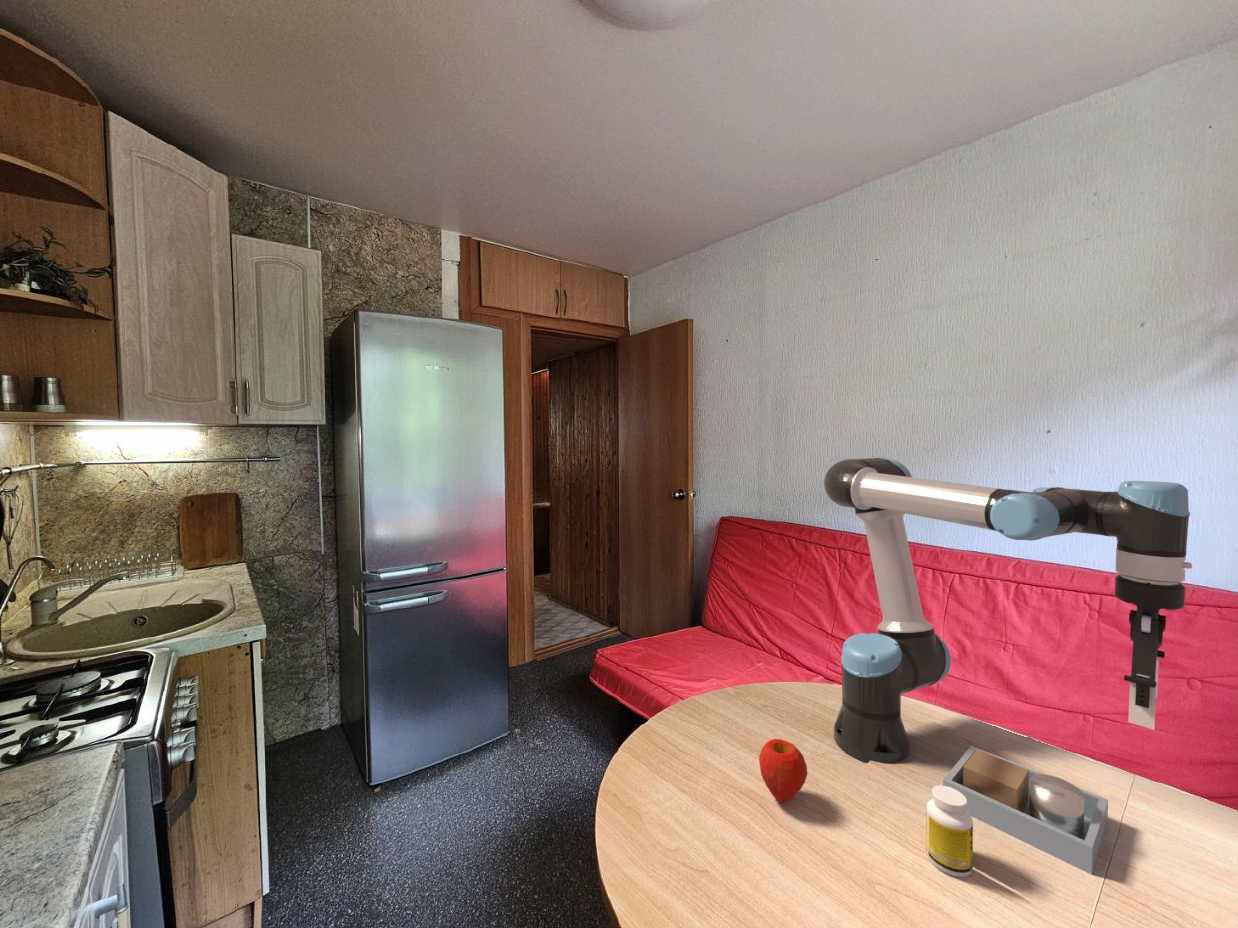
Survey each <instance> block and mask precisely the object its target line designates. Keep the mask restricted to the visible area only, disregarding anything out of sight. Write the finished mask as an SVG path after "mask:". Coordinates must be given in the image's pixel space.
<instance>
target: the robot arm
mask: <svg viewBox="0 0 1238 928" xmlns="http://www.w3.org/2000/svg"><path fill="white" fill-rule="evenodd" d="M823 487H824V490H825V493H826V495H827V496H828V498H829V499H830V500H831V501H832V502H833V503H835V504H836V505H838V506H840V507H845V508H853V509H854V512H855V516H856V517H858V518H859V519H860V520H862V521H863V523H864V528H865V533H866V538H867V543H868V544H867V546H868V549H869V554H870V560H871V565H872V569H873V575H874V580H875V585H876V591H877V595H878V600H879V605H880V611H881V615H882V617H881V618H882V621H881V622H880V623H879V624H878V625H877V632H878V633H875V632H874V633H873V632H869V633H865V632H864V633H863V632H862V633H858V634H854V635H851V636H849V637H848V638H847V639H845V640H844V642H843V645H842V653H841V658H840V659H841V661H840V663H841V691H842V692H841V697H842V698H841V699H842V701H841V707H840V708H839V711H838V714H837V717H836V720H835V722H834V724H833V739H834V741H835V743H836V745H837V747H838V748H840V749H841V750H842V751H843V752H845V753H846V754H847V755H849V756H851V757H852V758H856V759H857V760H860V761H862V762H865V763H869V762H875V763H883V764H893V763H900V762H903V761H904V760H907V759H908V757H909V755H910V754H911V744H910V740H909V737H908V734H907V731H906V728H905V725H904V722H903V719H902V715H901V713H902V712H901V709H902V704H901V703H902V695H904V694H907V693H909V692H913V691H915V690H919V689H922V688H926V687H930V686H933V685H935V684H937V683H938V682H940V681H942V680H943V679H944V678H945V677H947V675H948V674H949V672H950V670H951V665H952V659H951V658H952V656H951V651H950V650H949V647H948V646H947V643H946V642H945V641H943V640H942V638H941V636H940V635H938V634H937V633H936V632H935V629H934V625H933V624H931V623H930V622H929V621H927V620H926V619H925V618H924V614H923V613H924V612H923V609H922V603H921V598H920V593H919V590H918V589H919V588H918V584H917V579H916V575H915V570H914V565H913V564H914V563H913V559H912V554H911V550H910V545H909V541H908V536H907V531H906V530H907V529H906V526H905V522H904V515H905V514H907V515H911V516H912V515H913V516H918V517H923V518H927V519H932V520H937V521H938V520H939V521H943V522H948V523H953V524H959V525H963V526H970V527H974V528H979V529H985V530H989V531H995V532H998V533H999V534H1001V535H1002V536H1004V537H1006V538H1007V539H1009V540H1010V539H1011V540H1014V541H1038V540H1041V539H1044V538H1049V537H1054V536H1059V535H1060V536H1061V535H1066V534H1071V533H1080V534H1087V535H1088V534H1089V535H1095V536H1096V535H1098V536H1104V537H1113V538H1116V548H1115V572H1116V573H1118V575H1117V576H1115V581H1114V582H1115V583H1114V584H1115V587H1114V595H1115V597H1116V599H1118V600H1120V601H1122V602H1125V603H1127V604H1133V605H1134V606H1135V607H1136V610H1135V609H1130V611H1129V614H1128V615H1129V616H1128V624H1129V625H1130V632H1129V638H1130V641H1132V654H1131V655H1132V656H1131V657H1132V658H1131V659H1132V660H1131V669H1130V671H1131V672H1130V675H1126V674H1124V677H1123V681H1126V682H1129V697H1128V699H1129V700H1128V701H1129V702H1128V717H1127V718H1128V721H1127V722H1128V723H1130V724H1133V725H1137V726H1140V727H1144V728H1147V729H1150V730H1152V731H1153V730H1154V731H1155V729H1156V728H1155V727H1156V726H1155V723H1156V701H1157V698H1158V685H1159V665H1160V659H1159V658H1162V659H1165V651H1163V650H1159V649H1160V647H1161V646H1162V645H1163V639H1164V638H1163V637H1164V632H1165V631H1166V629H1167V628H1166V627H1167V626H1166V624H1167V623H1166V622H1167V615H1163V614H1161V613H1160V610H1163V609H1164V610H1166V611H1174V610H1175V611H1176V610H1181V609H1183V608H1184V607H1185V598H1186V597H1185V595H1186V587H1185V585H1184V584H1183V583H1182V582H1184V581H1185V580H1186V570H1187V569H1192V568H1193V564H1192V562H1189V561H1187V560H1186V559H1187V558H1186V557H1187V545H1188V533H1189V520H1190V516H1191V511H1189V509H1190V508H1189V507H1190V506H1189V489H1187V487H1186V486H1185V485H1183V484H1181V483H1177V482H1169V481H1157V480H1156V481H1152V480H1151V481H1149V480H1148V481H1145V480H1125V481H1122V482H1121V483H1120V484H1119V486H1118V489H1117V491H1103V490H1102V491H1101V490H1100V491H1099V490H1089V489H1088V490H1087V489H1075V488H1064V487H1058V486H1057V487H1056V486H1055V487H1040V486H1039V487H1036V488H1034V489H1033V490H1031V491H1022V490H1014V489H1008V488H1007V489H1006V488H1005V489H1003V488H998V487H992V486H991V487H990V486H981V485H974V484H968V483H967V484H965V483H960V482H959V483H957V482H950V481H943V480H936V479H935V480H934V479H926V478H921V477H920V478H918V477H913V476H912V474H911V472H910V471H909V469H908V467H907V466H905V465H904V464H903V463H902V462H900V461H898V460H895V459H893V458H885V457H874V458H873V457H871V458H868V457H867V458H847V459H843V460H840V461H837V462H836V463H833V465H832V466H830V467H829V469H828V470H827V471H826V474H825V475H824V480H823Z"/></svg>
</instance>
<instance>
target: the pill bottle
mask: <svg viewBox="0 0 1238 928" xmlns="http://www.w3.org/2000/svg"><path fill="white" fill-rule="evenodd" d="M925 812H926V813H925V814H926V815H925V816H926V825H925V828H926V832H925V835H926V836H925V838H926V839H925V841H926V842H925V843H926V844H925V845H926V846H925V848H926V849H925V850H926V856H927V858H928V859H929V861H930V862H931V863H932V865H933V866H934V867H936V868H937V869H938V870H939V871H941V872H942V873H945V874H948V875H950V876H952V877H957V878H958V877H959V878H965V877H968V876H970V875H971V874H972V871H973V865H974V864H973V862H974V861H973V860H974V859H973V857H974V851H973V850H974V849H973V848H974V821H973V817H972V816H971V815H970V814H969V812H968V811H967V799H966V797H965V796H964V795H963V794H962V793H960V792H959V791H957V790H955V789H953V788H951V787H947V786H943V785H936V786H933V788H932V790H931V799H930V800H929V801H928V802H927V804H926V811H925Z"/></svg>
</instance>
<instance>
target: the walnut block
mask: <svg viewBox="0 0 1238 928" xmlns="http://www.w3.org/2000/svg"><path fill="white" fill-rule="evenodd" d="M963 786H965V787H967V788H969V789H971V790H974V791H976V792H978V793H980V794H983V795H985V796H987V797H989V798H991V799H994V800H996V801H998V802H1000V803H1002V804H1005V805H1007V806H1009V807H1011V808H1014V809H1016V810H1018V811H1020V812H1023V811H1024V809H1025V807H1026V805H1027V803H1028V789H1029V770H1027V769H1025V768H1022V767H1020V766H1017V765H1015V764H1012V763H1010V762H1007V761H1005V760H1002V759H1000V758H997V757H994V756H992V755H989V754H987V753H984V752H982V751H979V750H976V751H975V752H974V754H973V755H972V756H971V757H970V759H969V760H968V761H967V762H966V764H965V765H964V766H963Z"/></svg>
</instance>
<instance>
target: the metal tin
mask: <svg viewBox="0 0 1238 928" xmlns="http://www.w3.org/2000/svg"><path fill="white" fill-rule="evenodd" d="M1078 788H1079V787H1078ZM1078 788H1077V786H1076V785H1074V784H1072V783H1071V782H1069V781H1067V780H1066V779H1065V780H1064V779H1063V778H1061V777H1057V776H1055V775H1050V774H1045V773H1042V774H1034V775H1032V776H1031V777H1030V807H1029V816H1031V817H1033V818H1036V819H1038V820H1040V821H1042V822H1045V823H1047V824H1049V825H1051V826H1053V827H1056V828H1058V829H1060V830H1062V831H1064V832H1067V833H1069V834H1071V835H1073V836H1076V837H1078V838H1080V839H1082V840H1084V802H1085V797H1084V794H1083V793H1082V791H1081V790H1080V789H1081V788H1080V789H1078Z"/></svg>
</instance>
